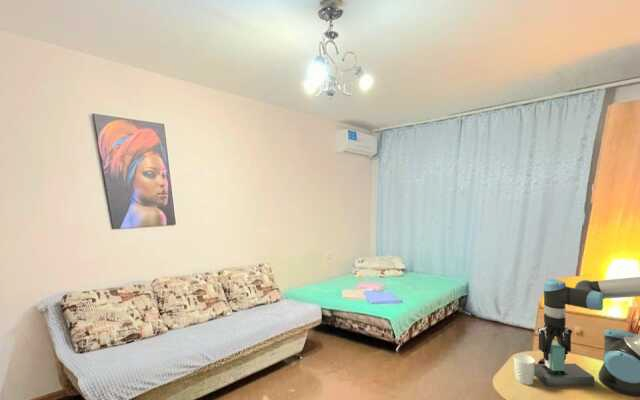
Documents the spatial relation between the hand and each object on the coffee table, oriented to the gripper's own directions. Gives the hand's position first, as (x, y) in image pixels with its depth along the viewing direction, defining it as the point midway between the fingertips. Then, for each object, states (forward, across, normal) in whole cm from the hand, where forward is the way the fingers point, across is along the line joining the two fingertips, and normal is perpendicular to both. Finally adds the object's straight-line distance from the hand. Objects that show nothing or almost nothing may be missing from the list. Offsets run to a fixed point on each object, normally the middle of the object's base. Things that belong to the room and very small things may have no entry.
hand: (554, 366), depth 136 cm
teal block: (0, 0, 0) cm, 0 cm away
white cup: (+6, +14, 0) cm, 15 cm away
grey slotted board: (+6, -3, 0) cm, 6 cm away
